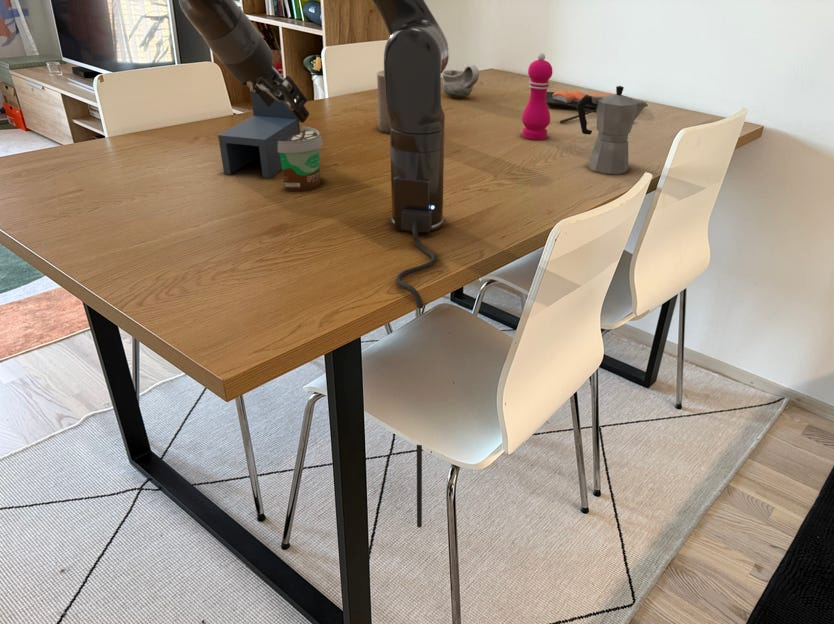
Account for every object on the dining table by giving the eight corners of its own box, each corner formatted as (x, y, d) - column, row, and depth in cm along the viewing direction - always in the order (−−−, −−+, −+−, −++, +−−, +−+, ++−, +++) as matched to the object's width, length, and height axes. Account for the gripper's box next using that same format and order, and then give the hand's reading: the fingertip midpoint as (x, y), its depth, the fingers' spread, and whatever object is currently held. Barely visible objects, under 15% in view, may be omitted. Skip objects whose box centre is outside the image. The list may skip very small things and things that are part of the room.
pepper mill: (521, 132, 184) (527, 49, 173) (548, 134, 183) (557, 51, 172) (519, 139, 178) (526, 54, 167) (548, 141, 177) (556, 56, 166)
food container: (311, 196, 137) (307, 144, 132) (282, 192, 138) (276, 141, 133) (335, 176, 147) (331, 128, 142) (307, 173, 148) (303, 125, 143)
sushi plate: (633, 104, 216) (635, 91, 214) (638, 129, 191) (641, 115, 189) (539, 97, 219) (541, 84, 217) (532, 121, 194) (533, 106, 192)
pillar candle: (419, 134, 177) (418, 71, 169) (380, 134, 175) (378, 71, 167) (413, 124, 185) (413, 63, 177) (376, 124, 183) (374, 63, 175)
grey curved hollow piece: (453, 91, 220) (454, 57, 214) (487, 98, 214) (489, 63, 209) (435, 97, 213) (435, 61, 207) (470, 103, 207) (471, 67, 202)
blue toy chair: (269, 178, 145) (260, 103, 136) (223, 173, 146) (212, 98, 138) (302, 153, 160) (296, 84, 151) (260, 149, 161) (252, 80, 152)
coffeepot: (633, 163, 165) (647, 83, 155) (639, 176, 157) (654, 92, 147) (568, 159, 165) (577, 79, 155) (571, 172, 157) (581, 88, 147)
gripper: (282, 38, 107) (329, 107, 122) (220, 11, 112) (272, 81, 127) (253, 75, 106) (303, 141, 120) (192, 47, 111) (248, 113, 126)
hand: (287, 110), depth 124 cm, fingers open, 8 cm apart
